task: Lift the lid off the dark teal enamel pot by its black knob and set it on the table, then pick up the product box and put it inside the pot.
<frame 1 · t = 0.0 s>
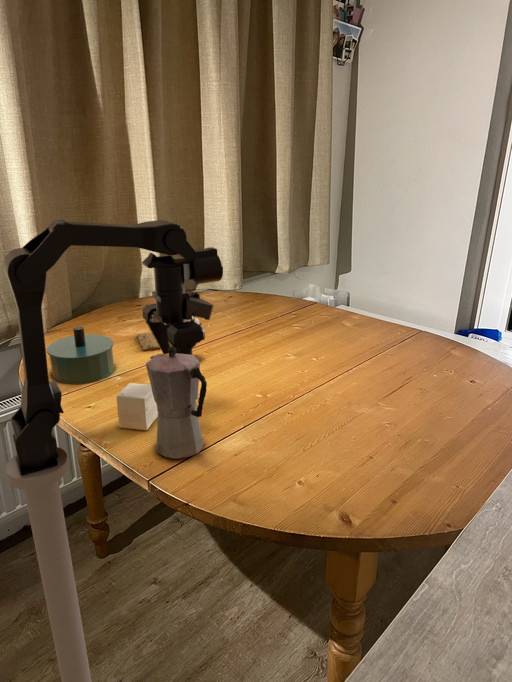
hand: (174, 361, 102), 12 cm above the table, tool pointing down, fingers open, 9 cm apart
lid: (80, 347, 123), point 6 cm above the table, touching pot
product box: (139, 422, 103), on the table
cookie: (160, 341, 145), on the table
moka pot: (182, 448, 94), on the table
sundae: (190, 360, 132), on the table
pot: (83, 371, 126), on the table
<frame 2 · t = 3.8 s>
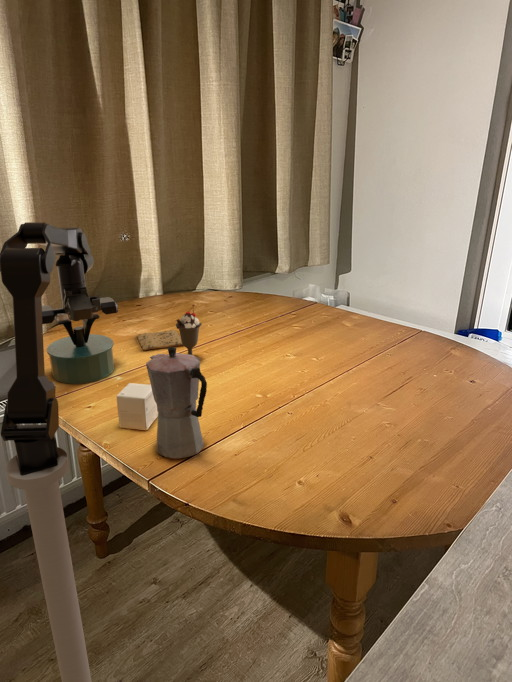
hand: (80, 343, 123), 7 cm above the table, tool pointing down, fingers closed on lid, 2 cm apart
lid: (80, 347, 123), point 6 cm above the table, touching gripper, pot
everything else where it was.
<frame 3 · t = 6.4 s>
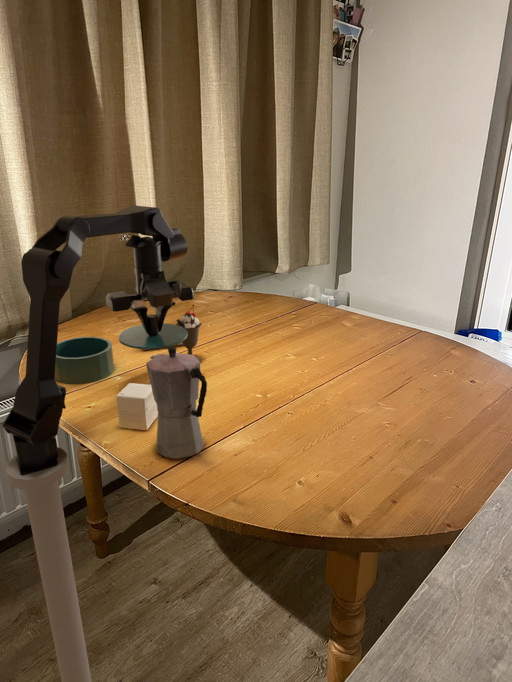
hand: (153, 332, 115), 13 cm above the table, tool pointing down, fingers closed on lid, 2 cm apart
lid: (153, 336, 115), point 12 cm above the table, touching gripper
everything else where it was.
when the fingers open (2 cm above the table, at t = 9.5 s): lid stays where it is, point 1 cm above the table.
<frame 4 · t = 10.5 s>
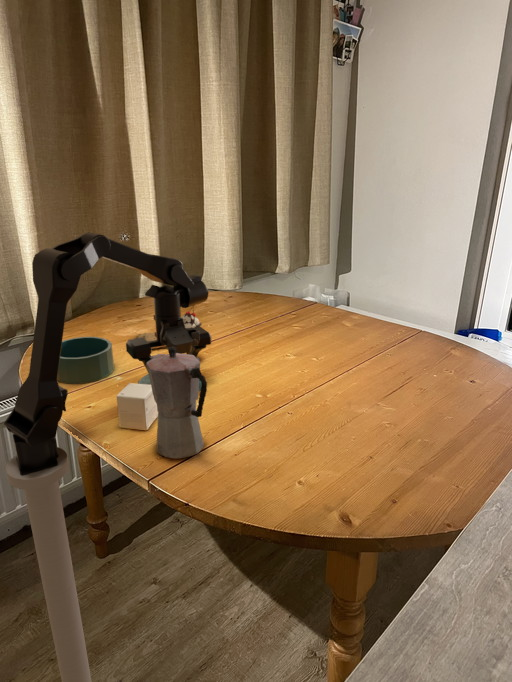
hand: (171, 376, 117), 3 cm above the table, tool pointing down, fingers open, 9 cm apart
lid: (171, 384, 118), point 1 cm above the table
everything else where it was.
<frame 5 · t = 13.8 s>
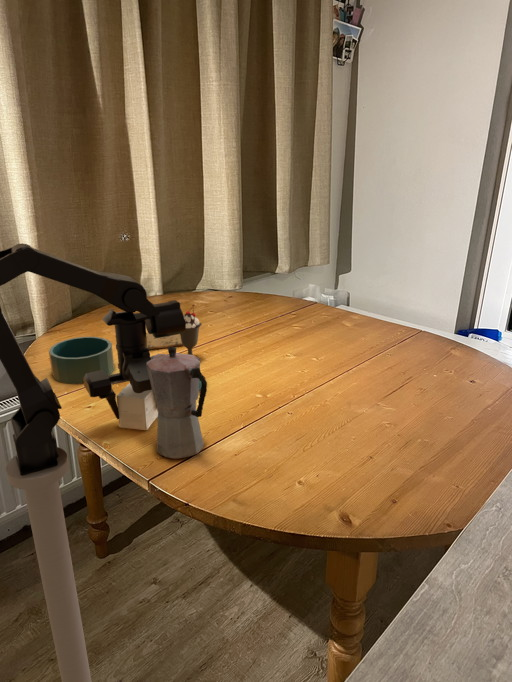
hand: (138, 413, 102), 2 cm above the table, tool pointing down, fingers closed on product box, 8 cm apart
product box: (139, 422, 103), on the table, touching gripper
everything else where it was.
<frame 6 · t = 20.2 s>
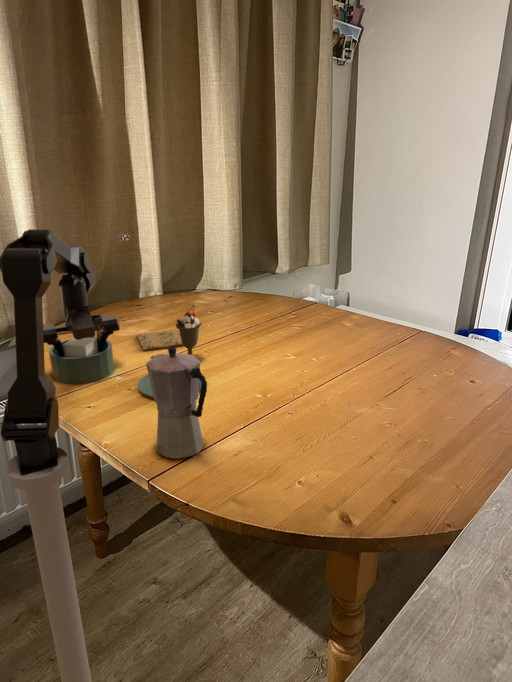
hand: (82, 360, 124), 3 cm above the table, tool pointing down, fingers closed on product box, 8 cm apart
product box: (83, 368, 125), point 1 cm above the table, touching gripper
everything else where it was.
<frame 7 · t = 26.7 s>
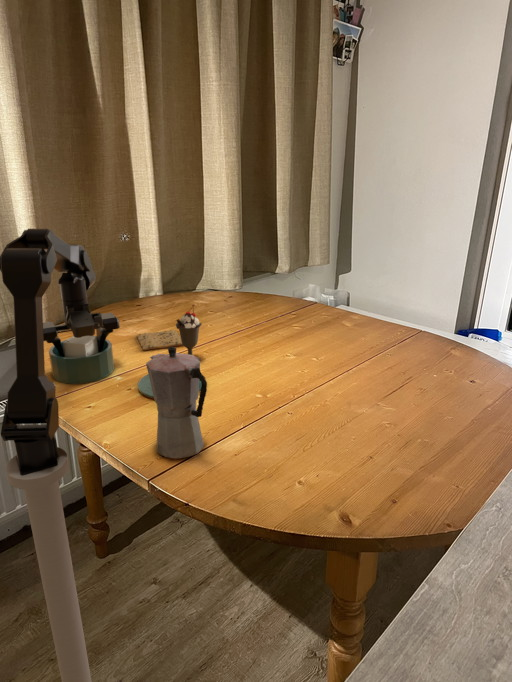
hand: (82, 358, 124), 3 cm above the table, tool pointing down, fingers closed on product box, 8 cm apart
product box: (83, 367, 125), point 1 cm above the table, touching gripper
everything else where it was.
when the fingers open (4 cm above the table, at t = 30.3 s): product box drops 1 cm, resting on pot.
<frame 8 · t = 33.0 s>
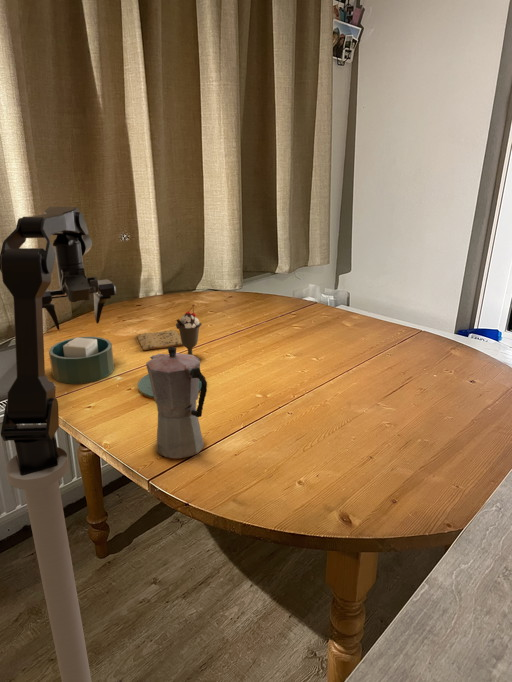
hand: (78, 326, 121), 12 cm above the table, tool pointing down, fingers open, 9 cm apart
product box: (83, 370, 125), resting on pot
everything else where it was.
at the end: product box inside the target area in the pot (0.1 cm from its centre), point 0.3 cm above the pot's base; lid inside the target area (0.0 cm from its centre), point 0.6 cm above the table; product box tilted 0° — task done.
